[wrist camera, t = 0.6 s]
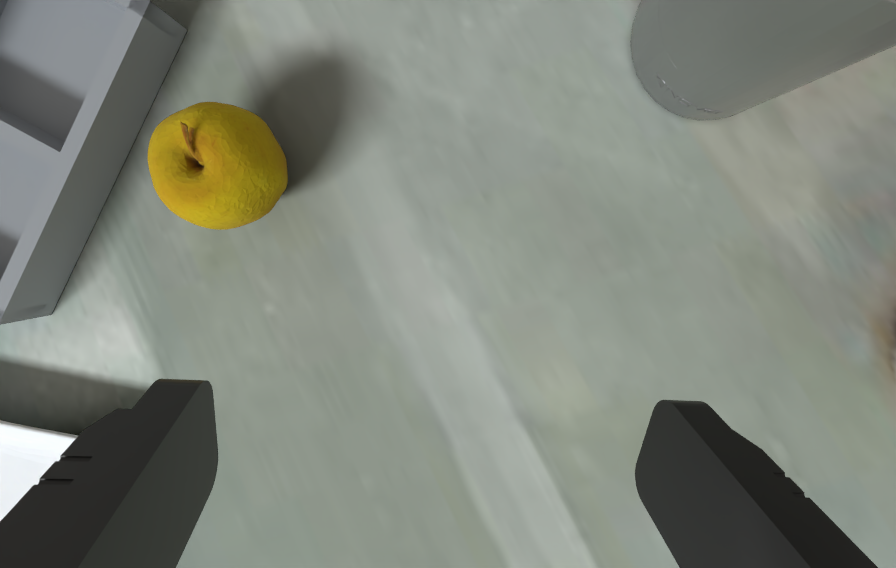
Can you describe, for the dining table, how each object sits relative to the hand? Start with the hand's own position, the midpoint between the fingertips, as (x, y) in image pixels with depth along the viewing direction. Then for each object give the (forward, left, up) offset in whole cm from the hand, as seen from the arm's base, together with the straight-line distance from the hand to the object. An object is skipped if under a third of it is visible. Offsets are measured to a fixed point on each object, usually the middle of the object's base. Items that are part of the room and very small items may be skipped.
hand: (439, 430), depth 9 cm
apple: (-1, -14, -22) cm, 26 cm away
